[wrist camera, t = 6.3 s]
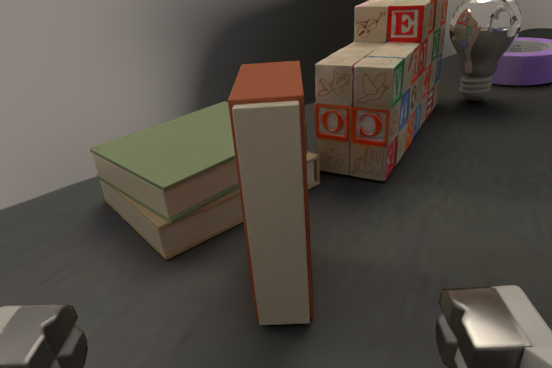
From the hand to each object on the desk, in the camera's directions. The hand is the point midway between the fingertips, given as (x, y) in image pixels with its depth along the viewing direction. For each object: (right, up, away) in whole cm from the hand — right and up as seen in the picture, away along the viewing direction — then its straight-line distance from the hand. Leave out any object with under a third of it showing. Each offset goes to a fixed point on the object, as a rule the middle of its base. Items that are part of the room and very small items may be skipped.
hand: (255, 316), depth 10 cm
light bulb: (+23, +12, +41) cm, 49 cm away
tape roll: (+33, +18, +49) cm, 61 cm away
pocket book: (+1, -3, +15) cm, 16 cm away
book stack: (-5, +2, +26) cm, 26 cm away
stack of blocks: (+12, +8, +34) cm, 37 cm away
